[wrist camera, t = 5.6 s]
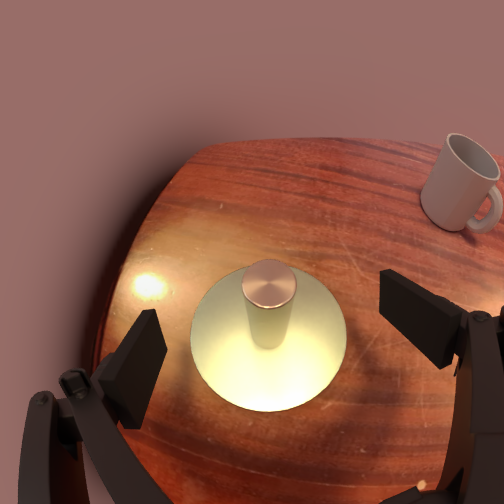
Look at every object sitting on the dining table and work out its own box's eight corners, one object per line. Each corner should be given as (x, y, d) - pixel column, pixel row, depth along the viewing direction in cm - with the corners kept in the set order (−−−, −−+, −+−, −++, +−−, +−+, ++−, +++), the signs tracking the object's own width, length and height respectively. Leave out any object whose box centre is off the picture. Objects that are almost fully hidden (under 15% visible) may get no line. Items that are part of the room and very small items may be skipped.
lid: (165, 359, 21) (101, 319, 12) (244, 248, 26) (232, 164, 18) (297, 438, 17) (323, 462, 9) (364, 307, 22) (415, 241, 14)
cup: (438, 181, 30) (463, 129, 23) (486, 237, 25) (523, 190, 18) (408, 196, 29) (434, 138, 21) (461, 261, 24) (506, 210, 16)
